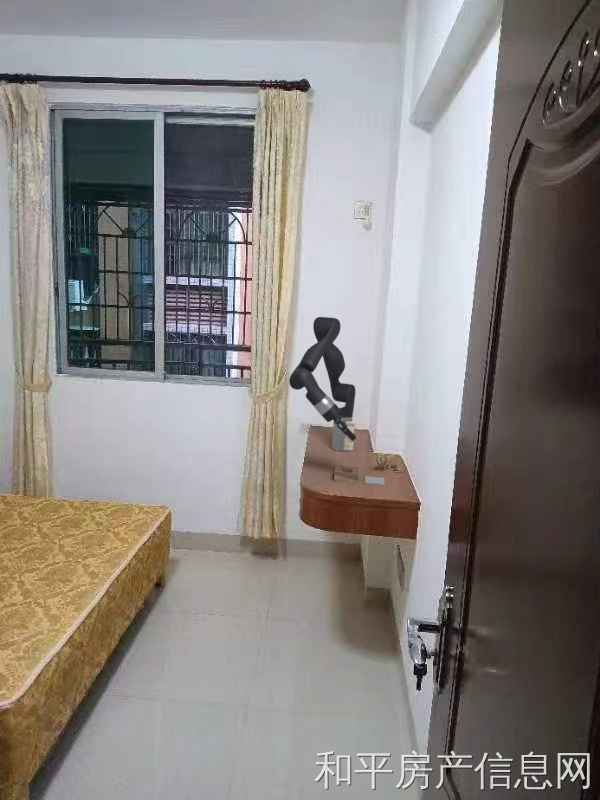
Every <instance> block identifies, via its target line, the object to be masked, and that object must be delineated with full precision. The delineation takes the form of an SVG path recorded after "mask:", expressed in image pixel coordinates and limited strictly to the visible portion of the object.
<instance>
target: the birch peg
mask: <svg viewBox="0 0 600 800" xmlns="http://www.w3.org/2000/svg"><path fill="white" fill-rule="evenodd" d="M346 424H347V425H348V428H349V429H350V431H351V432H352V433H353V434H355V424H356V423H355V421H352V422H346ZM346 430H347V429H345V431H346ZM344 449H350V451H352V450H354V440H353V441H352V440H351V439H350V438H349V437H348V436H347V435H345V443H344Z"/></svg>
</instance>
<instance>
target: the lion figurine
mask: <svg viewBox="0 0 600 800" xmlns="http://www.w3.org/2000/svg"><path fill="white" fill-rule="evenodd" d="M375 460H376V463H377V465H378V469H377V471H378V470H379V471H381V469H382V466H383V469H382V473H386V472H387V471H386V469H390V468H391V466H392V463H393V464H394V466H395V467H394V469H395V468H396V469H395V470H398V469H399V463H398V459H397V456H396V455H395V454H389V455H386V454H385V453H384V452H379V453H377V454H376V459H375ZM387 465H388V466H387Z"/></svg>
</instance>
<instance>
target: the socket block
mask: <svg viewBox="0 0 600 800" xmlns="http://www.w3.org/2000/svg"><path fill="white" fill-rule="evenodd" d="M359 469H360V468H359V467H353V466H340V465H335V469H334V474H333V475H334V476H333V481H334V482H343V483H352V482H355V483H354V484H358V483H359V473H360V471H359Z"/></svg>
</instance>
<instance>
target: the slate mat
mask: <svg viewBox="0 0 600 800" xmlns="http://www.w3.org/2000/svg"><path fill="white" fill-rule="evenodd" d="M365 483H367V485H376V484H380V486H385V484H386V483H385V477H377V476H366V475H365V476H364V484H365Z"/></svg>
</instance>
